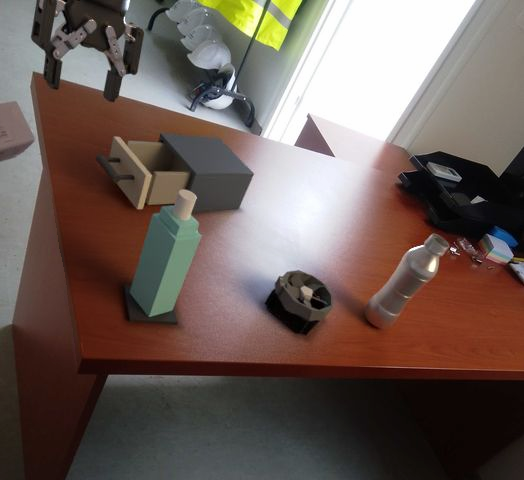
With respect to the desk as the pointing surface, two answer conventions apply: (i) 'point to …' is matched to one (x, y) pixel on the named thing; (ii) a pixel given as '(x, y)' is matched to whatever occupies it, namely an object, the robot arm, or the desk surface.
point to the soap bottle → (166, 256)
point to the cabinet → (211, 171)
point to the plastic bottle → (405, 282)
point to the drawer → (146, 171)
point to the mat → (140, 316)
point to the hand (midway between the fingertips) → (81, 93)
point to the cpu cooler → (300, 300)
